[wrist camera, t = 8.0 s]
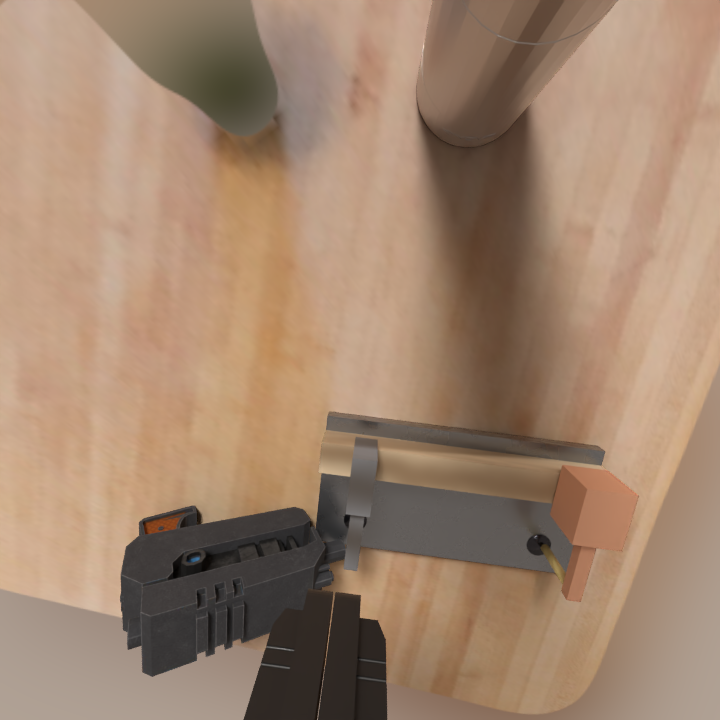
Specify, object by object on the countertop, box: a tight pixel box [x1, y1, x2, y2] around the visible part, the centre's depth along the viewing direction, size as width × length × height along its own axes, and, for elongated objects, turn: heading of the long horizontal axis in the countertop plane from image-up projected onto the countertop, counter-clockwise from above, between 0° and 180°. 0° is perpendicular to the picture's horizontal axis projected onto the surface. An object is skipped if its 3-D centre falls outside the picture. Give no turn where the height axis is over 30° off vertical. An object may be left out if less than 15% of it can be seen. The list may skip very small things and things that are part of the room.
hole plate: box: [316, 412, 605, 573], centre depth 38 cm, size 14×27×1 cm, turn 83°
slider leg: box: [541, 465, 639, 602], centre depth 33 cm, size 11×4×7 cm, turn 173°
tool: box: [120, 506, 346, 677], centre depth 36 cm, size 6×19×15 cm, turn 84°
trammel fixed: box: [319, 430, 606, 571], centre depth 34 cm, size 11×27×7 cm, turn 83°
